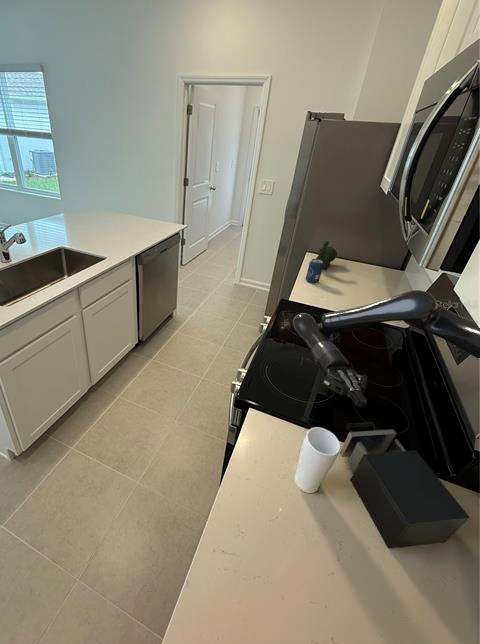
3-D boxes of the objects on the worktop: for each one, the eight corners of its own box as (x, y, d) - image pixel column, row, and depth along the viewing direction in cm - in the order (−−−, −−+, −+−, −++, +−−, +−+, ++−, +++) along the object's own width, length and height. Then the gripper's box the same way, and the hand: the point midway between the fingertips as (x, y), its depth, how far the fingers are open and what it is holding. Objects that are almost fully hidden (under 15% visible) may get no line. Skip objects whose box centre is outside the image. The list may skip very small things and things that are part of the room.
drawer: (331, 438, 80) (340, 418, 76) (371, 435, 81) (382, 415, 77) (369, 506, 66) (383, 485, 62) (418, 501, 67) (433, 481, 63)
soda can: (302, 279, 168) (307, 258, 162) (313, 278, 169) (319, 258, 163) (309, 284, 162) (315, 263, 156) (321, 284, 164) (327, 263, 158)
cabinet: (349, 479, 71) (363, 454, 67) (399, 475, 73) (415, 450, 68) (388, 548, 60) (407, 524, 55) (445, 542, 61) (470, 517, 56)
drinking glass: (304, 502, 66) (322, 460, 59) (284, 474, 72) (299, 432, 64) (328, 490, 69) (348, 449, 61) (307, 464, 74) (323, 422, 67)
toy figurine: (324, 277, 175) (337, 261, 192) (332, 246, 165) (345, 232, 181) (308, 272, 180) (321, 257, 197) (315, 242, 170) (329, 229, 186)
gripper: (311, 349, 89) (343, 395, 74) (354, 348, 90) (393, 393, 75) (305, 369, 92) (334, 416, 78) (346, 368, 94) (382, 414, 79)
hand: (363, 405), depth 76 cm, fingers closed
